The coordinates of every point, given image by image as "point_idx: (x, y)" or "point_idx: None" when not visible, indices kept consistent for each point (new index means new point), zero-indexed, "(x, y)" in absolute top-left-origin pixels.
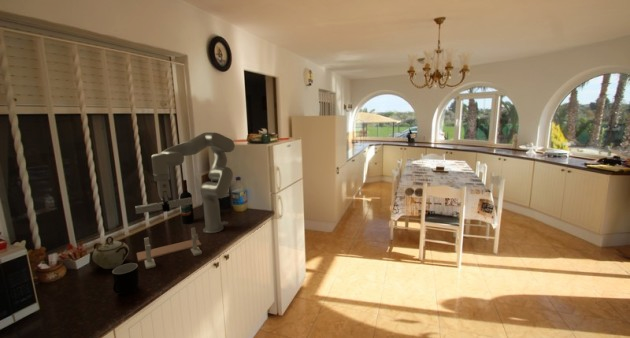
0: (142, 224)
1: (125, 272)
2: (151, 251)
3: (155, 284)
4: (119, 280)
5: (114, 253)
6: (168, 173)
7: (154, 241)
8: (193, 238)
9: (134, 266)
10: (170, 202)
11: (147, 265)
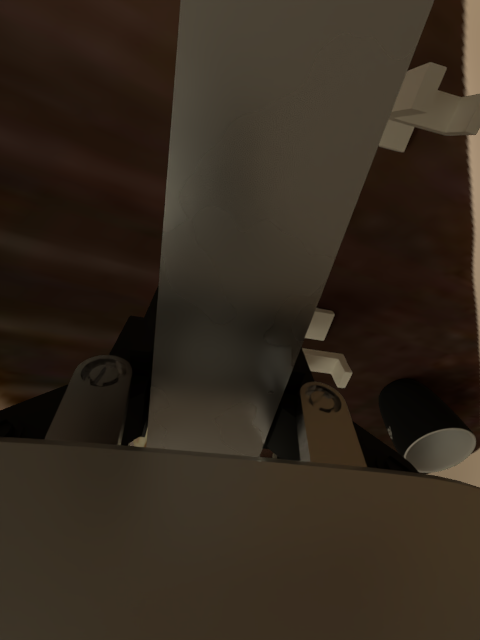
0: None
1: (396, 425)
2: None
3: (444, 343)
4: (441, 447)
5: None
6: None
7: (41, 230)
8: (428, 129)
9: (429, 423)
10: (296, 351)
11: (315, 334)
